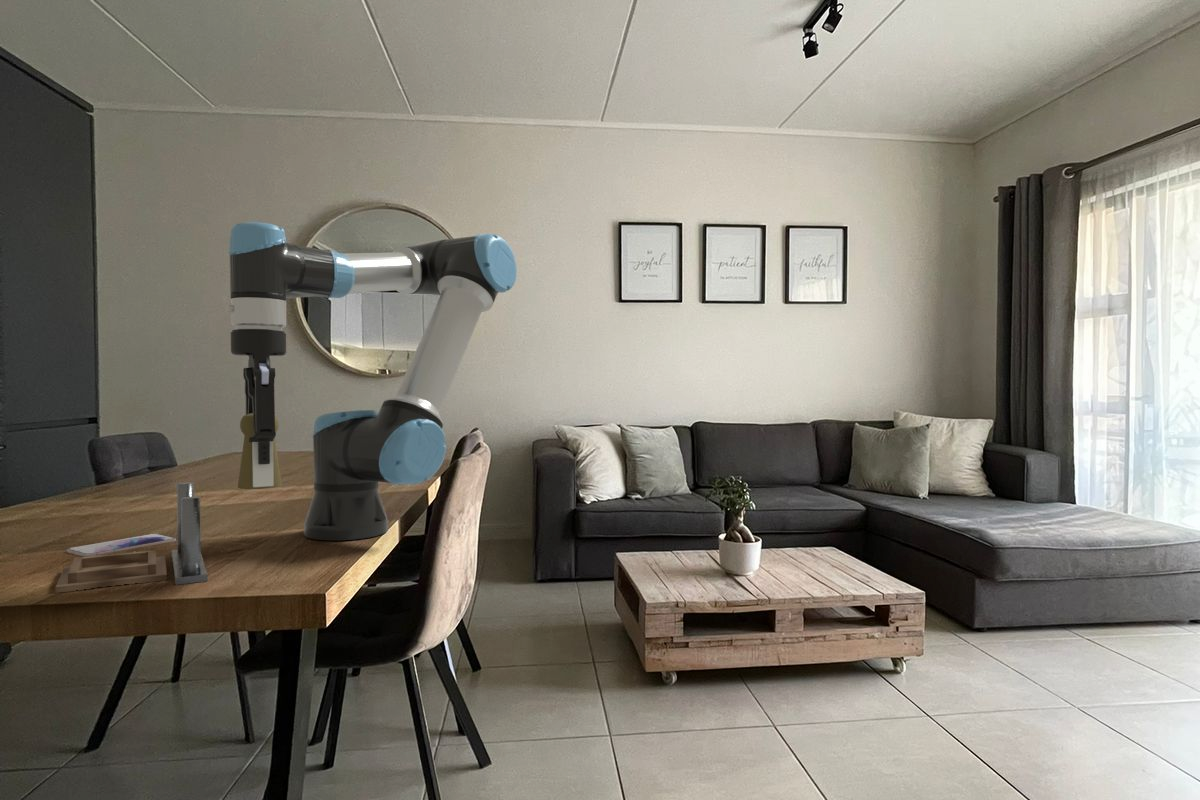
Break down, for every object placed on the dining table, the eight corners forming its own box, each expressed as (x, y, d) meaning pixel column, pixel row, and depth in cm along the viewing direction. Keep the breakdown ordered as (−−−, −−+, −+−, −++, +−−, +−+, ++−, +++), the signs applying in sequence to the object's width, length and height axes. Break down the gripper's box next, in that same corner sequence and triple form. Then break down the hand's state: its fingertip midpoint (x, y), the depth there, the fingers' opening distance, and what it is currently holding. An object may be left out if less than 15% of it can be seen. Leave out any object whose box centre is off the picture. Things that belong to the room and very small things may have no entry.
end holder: (165, 561, 118) (164, 547, 118) (166, 580, 106) (166, 565, 106) (64, 571, 111) (64, 557, 111) (55, 593, 100) (55, 576, 100)
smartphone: (177, 538, 133) (86, 554, 120) (177, 543, 133) (86, 560, 120) (155, 532, 137) (64, 548, 124) (155, 537, 137) (64, 553, 124)
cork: (228, 487, 109) (227, 413, 109) (264, 482, 115) (263, 411, 114) (255, 490, 106) (255, 414, 106) (290, 485, 112) (290, 412, 111)
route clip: (199, 553, 123) (198, 481, 123) (207, 581, 106) (207, 498, 106) (171, 556, 121) (171, 483, 121) (175, 584, 104) (174, 500, 104)
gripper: (224, 331, 116) (226, 477, 117) (237, 324, 100) (239, 494, 100) (276, 333, 120) (277, 474, 121) (296, 326, 104) (297, 489, 104)
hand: (260, 483), depth 110 cm, fingers closed on cork, 6 cm apart
